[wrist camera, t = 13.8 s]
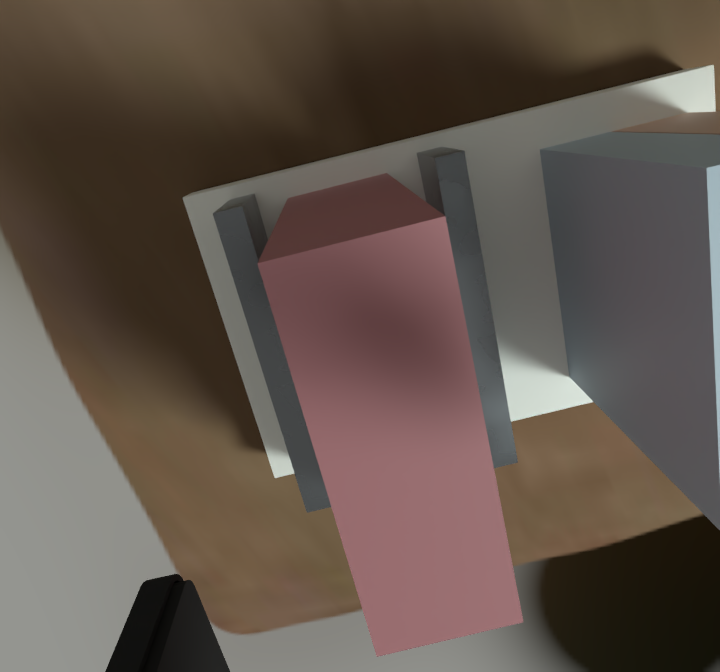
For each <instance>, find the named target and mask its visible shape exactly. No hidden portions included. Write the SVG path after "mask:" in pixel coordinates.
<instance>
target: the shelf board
mask: <svg viewBox="0 0 720 672" xmlns="http://www.w3.org/2000/svg"><path fill="white" fill-rule="evenodd" d="M689 112H716V111H715V84H714V65H709V66H702V67H696V68H689V69H683V70H679V71H675V72H671V73H667V74H663V75H660V76H656V77H652V78H648V79H644V80H640V81H636V82H632V83H628V84H624V85H620V86H616V87H612V88H608V89H604V90H600V91H596V92H592V93H588V94H584V95H580V96H576V97H572V98H568V99H564V100H560V101H556V102H552V103H548V104H544V105H540V106H536V107H532V108H528V109H524V110H520V111H516V112H512V113H508V114H504V115H500V116H496V117H492V118H488V119H484V120H480V121H476V122H472V123H468V124H464V125H460V126H456V127H452V128H448V129H444V130H440V131H436V132H432V133H428V134H424V135H420V136H416V137H412V138H408V139H404V140H400V141H396V142H392V143H388V144H384V145H380V146H376V147H372V148H368V149H364V150H360V151H356V152H352V153H348V154H344V155H340V156H336V157H332V158H328V159H324V160H320V161H316V162H312V163H308V164H304V165H300V166H296V167H292V168H288V169H284V170H280V171H276V172H272V173H268V174H264V175H260V176H256V177H252V178H248V179H244V180H240V181H236V182H232V183H228V184H224V185H220V186H216V187H212V188H208V189H204V190H200V191H196V192H192V193H190V194H189V195H187V196H185V197H183V201H184V204H185V207H186V210H187V213H188V216H189V219H190V222H191V225H192V228H193V231H194V234H195V237H196V240H197V243H198V247H199V250H200V253H201V256H202V259H203V262H204V265H205V268H206V271H207V274H208V277H209V280H210V283H211V286H212V289H213V292H214V295H215V298H216V301H217V304H218V307H219V310H220V313H221V316H222V319H223V322H224V325H225V328H226V331H227V334H228V338H229V341H230V344H231V347H232V350H233V353H234V356H235V359H236V362H237V365H238V368H239V371H240V374H241V377H242V380H243V383H244V386H245V389H246V392H247V395H248V398H249V401H250V404H251V407H252V410H253V413H254V416H255V419H256V422H257V425H258V429H259V432H260V435H261V438H262V441H263V444H264V447H265V450H266V453H267V456H268V459H269V462H270V465H271V468H272V471H273V474H274V477H275V478H277V477H281V476H286V475H290V474H294V470H293V467H292V463H291V460H290V457H289V454H288V451H287V448H286V445H285V441H284V438H283V435H282V432H281V429H280V426H279V422H278V419H277V416H276V413H275V410H274V407H273V403H272V400H271V397H270V394H269V391H268V388H267V384H266V381H265V378H264V375H263V372H262V369H261V365H260V362H259V359H258V356H257V353H256V350H255V346H254V343H253V340H252V337H251V334H250V331H249V327H248V324H247V321H246V318H245V315H244V312H243V308H242V305H241V302H240V299H239V296H238V293H237V289H236V286H235V283H234V280H233V277H232V274H231V270H230V267H229V264H228V261H227V258H226V255H225V251H224V248H223V245H222V242H221V239H220V236H219V232H218V229H217V226H216V223H215V220H214V217H213V213H214V212H215V211H216V210H218V209H219V208H220V207H221V206H222V205H224V204H225V203H226V202H227V201H229V200H230V199H234V198H238V197H242V196H246V195H250V194H254V193H255V197H256V200H257V203H258V207H259V210H260V214H261V217H262V221H263V224H264V228H265V231H266V235H267V238H268V240H269V237H270V235H271V233H272V231H273V229H274V227H275V225H276V222H277V220H278V218H279V216H280V214H281V212H282V209H283V207H284V205H285V203H286V201H287V199H288V198H290V197H294V196H298V195H302V194H306V193H310V192H314V191H318V190H322V189H325V188H329V187H333V186H337V185H341V184H345V183H349V182H353V181H357V180H361V179H365V178H369V177H373V176H377V175H381V174H384V173H388V174H389V175H390V176H392V177H393V178H394V179H396V180H397V181H398V182H400V183H401V184H402V185H404V186H405V187H407V188H408V189H409V190H411V191H412V192H413V193H415V194H416V195H417V196H419V197H420V198H421V199H423V200H424V201H425V202H426V198H425V193H424V188H423V183H422V178H421V173H420V168H419V162H418V157H417V153H418V152H422V151H426V150H430V149H434V148H438V147H447V148H452V149H458V150H463V151H465V157H466V163H467V168H468V174H469V180H470V186H471V192H472V198H473V204H474V209H475V215H476V221H477V227H478V233H479V239H480V245H481V250H482V256H483V262H484V268H485V274H486V280H487V285H488V291H489V297H490V303H491V309H492V315H493V321H494V326H495V332H496V338H497V344H498V350H499V356H500V362H501V367H502V373H503V379H504V385H505V391H506V397H507V402H508V408H509V414H510V420H511V421H515V420H519V419H524V418H528V417H532V416H536V415H540V414H545V413H549V412H553V411H557V410H561V409H565V408H570V407H574V406H578V405H582V404H586V403H590V402H593V401H592V400H591V399H590V398H589V397H588V396H587V395H586V393H585V392H584V391H583V390H582V389H581V388H580V387H579V386H578V385H577V384H576V383H575V382H574V381H573V380H572V379H571V378H570V377H569V370H568V362H567V355H566V347H565V339H564V332H563V324H562V316H561V309H560V301H559V294H558V286H557V278H556V271H555V263H554V255H553V248H552V240H551V232H550V225H549V217H548V209H547V202H546V194H545V186H544V179H543V171H542V163H541V156H540V149H543V148H547V147H551V146H555V145H559V144H563V143H567V142H571V141H575V140H579V139H583V138H587V137H591V136H595V135H599V134H603V133H607V132H612V131H615V130H619V129H623V128H627V127H631V126H635V125H639V124H644V123H648V122H652V121H656V120H660V119H664V118H668V117H672V116H676V115H680V114H684V113H689Z"/></svg>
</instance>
